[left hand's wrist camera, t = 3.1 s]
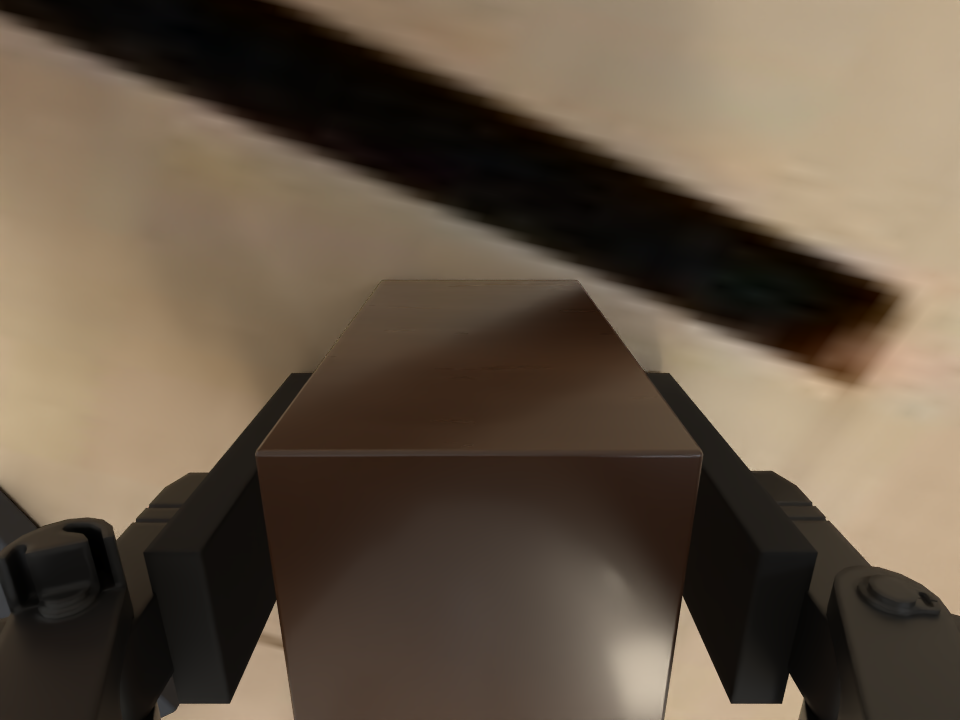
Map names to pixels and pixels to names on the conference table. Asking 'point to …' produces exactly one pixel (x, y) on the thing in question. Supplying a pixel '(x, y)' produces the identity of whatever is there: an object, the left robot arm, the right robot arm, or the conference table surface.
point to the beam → (479, 513)
